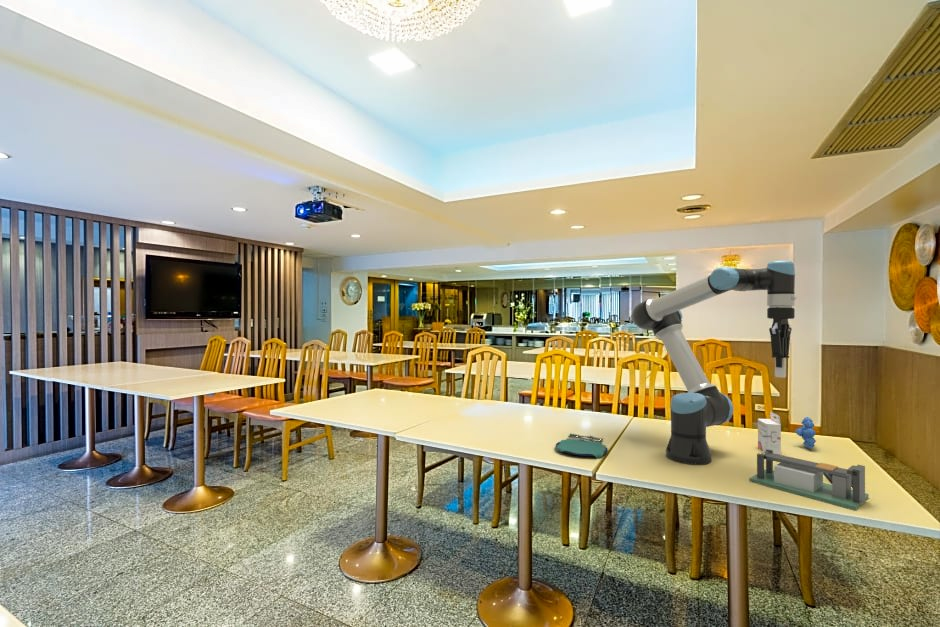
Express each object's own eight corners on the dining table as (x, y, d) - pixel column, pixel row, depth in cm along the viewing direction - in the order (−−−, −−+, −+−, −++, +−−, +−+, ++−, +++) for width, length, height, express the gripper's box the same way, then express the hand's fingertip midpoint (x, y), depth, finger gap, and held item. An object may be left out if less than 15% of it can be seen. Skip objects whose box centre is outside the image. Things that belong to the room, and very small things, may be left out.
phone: (832, 482, 137) (819, 467, 150) (832, 486, 137) (819, 470, 150) (864, 486, 133) (848, 470, 147) (864, 490, 133) (848, 474, 147)
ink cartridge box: (756, 447, 175) (756, 410, 175) (770, 448, 174) (770, 411, 174) (766, 454, 166) (766, 415, 166) (781, 455, 165) (781, 416, 165)
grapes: (792, 442, 181) (792, 413, 181) (812, 444, 178) (812, 415, 178) (797, 450, 171) (797, 419, 171) (819, 452, 168) (819, 421, 168)
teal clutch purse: (550, 455, 166) (550, 449, 166) (565, 436, 194) (565, 431, 194) (604, 463, 158) (605, 456, 158) (612, 441, 186) (612, 436, 186)
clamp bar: (758, 458, 141) (758, 453, 141) (764, 455, 144) (764, 450, 144) (846, 478, 124) (846, 472, 124) (850, 474, 127) (850, 468, 127)
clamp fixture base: (749, 481, 140) (749, 450, 140) (766, 471, 148) (766, 442, 148) (855, 510, 119) (855, 473, 119) (868, 497, 127) (868, 463, 127)
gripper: (786, 306, 140) (786, 380, 140) (800, 307, 148) (800, 376, 148) (760, 307, 146) (759, 377, 146) (775, 307, 154) (774, 374, 154)
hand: (780, 377), depth 147 cm, fingers closed
